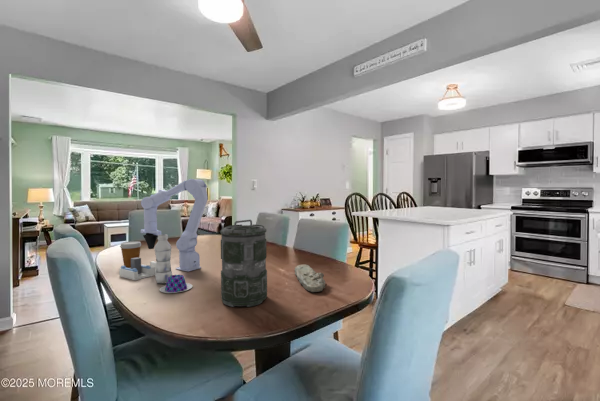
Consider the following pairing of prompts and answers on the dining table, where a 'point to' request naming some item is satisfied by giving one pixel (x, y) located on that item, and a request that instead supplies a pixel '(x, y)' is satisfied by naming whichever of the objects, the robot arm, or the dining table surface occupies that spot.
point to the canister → (243, 265)
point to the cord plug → (136, 264)
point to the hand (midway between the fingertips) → (151, 248)
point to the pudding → (175, 284)
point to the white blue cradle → (133, 273)
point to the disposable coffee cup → (130, 251)
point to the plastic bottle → (163, 259)
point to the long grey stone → (310, 278)
